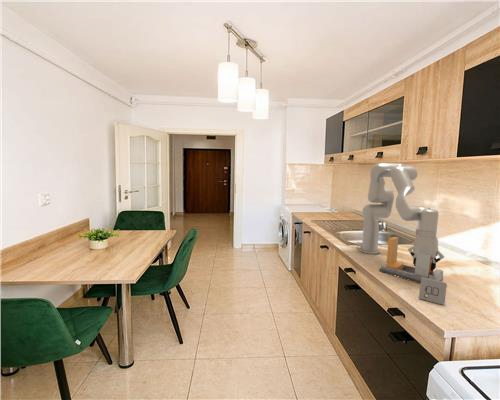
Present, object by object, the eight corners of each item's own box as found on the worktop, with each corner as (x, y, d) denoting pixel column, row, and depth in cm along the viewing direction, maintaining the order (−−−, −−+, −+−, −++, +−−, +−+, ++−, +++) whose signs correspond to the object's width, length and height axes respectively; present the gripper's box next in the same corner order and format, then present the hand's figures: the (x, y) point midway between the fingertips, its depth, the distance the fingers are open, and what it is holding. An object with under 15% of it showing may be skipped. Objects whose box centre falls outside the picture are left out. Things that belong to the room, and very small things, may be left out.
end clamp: (385, 269, 154) (387, 239, 151) (392, 265, 160) (394, 236, 157) (396, 272, 149) (399, 241, 147) (403, 268, 155) (406, 238, 153)
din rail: (379, 271, 154) (380, 262, 153) (390, 265, 163) (391, 256, 162) (434, 287, 134) (435, 277, 134) (443, 279, 144) (444, 270, 143)
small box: (427, 281, 139) (430, 255, 137) (413, 276, 144) (416, 252, 142) (432, 276, 144) (435, 252, 142) (419, 272, 149) (421, 248, 147)
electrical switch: (418, 299, 123) (420, 278, 122) (419, 295, 127) (422, 275, 126) (444, 306, 117) (446, 284, 117) (445, 302, 121) (447, 281, 121)
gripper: (405, 231, 145) (402, 264, 147) (445, 238, 132) (441, 274, 135) (411, 229, 150) (408, 261, 152) (450, 235, 137) (446, 270, 140)
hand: (423, 267), depth 143 cm, fingers open, 7 cm apart
